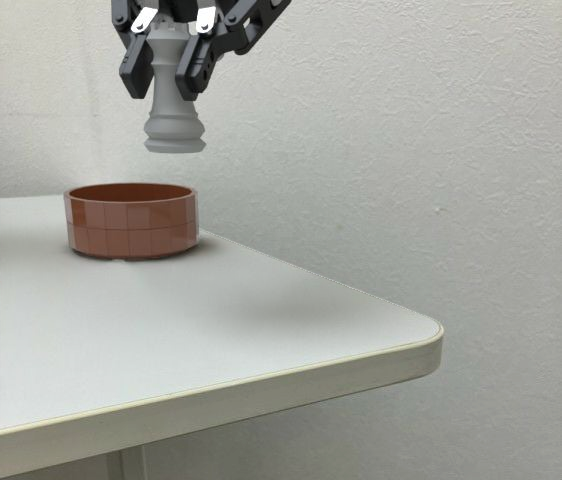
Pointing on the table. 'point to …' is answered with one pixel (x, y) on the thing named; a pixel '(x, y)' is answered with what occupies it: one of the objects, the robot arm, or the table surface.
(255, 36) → the robot arm
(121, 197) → the bowl
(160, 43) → the rook chess piece
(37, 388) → the table surface
